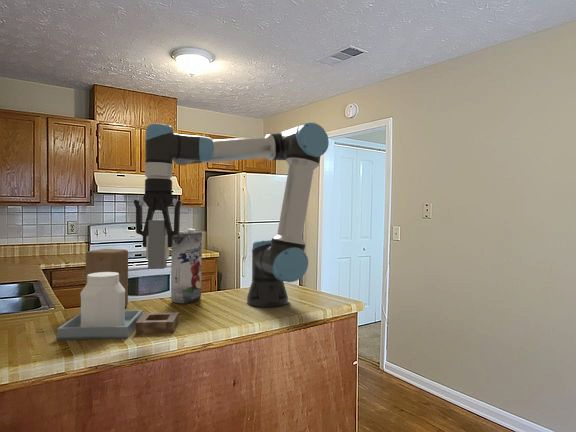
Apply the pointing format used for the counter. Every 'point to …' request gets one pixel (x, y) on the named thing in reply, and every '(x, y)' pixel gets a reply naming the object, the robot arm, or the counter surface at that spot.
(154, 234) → the grey block
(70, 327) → the tray
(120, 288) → the jar
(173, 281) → the juice carton
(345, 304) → the counter surface
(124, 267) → the wooden block
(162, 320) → the hollow square tube
